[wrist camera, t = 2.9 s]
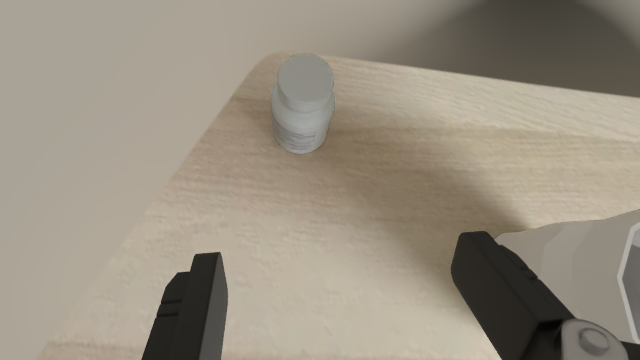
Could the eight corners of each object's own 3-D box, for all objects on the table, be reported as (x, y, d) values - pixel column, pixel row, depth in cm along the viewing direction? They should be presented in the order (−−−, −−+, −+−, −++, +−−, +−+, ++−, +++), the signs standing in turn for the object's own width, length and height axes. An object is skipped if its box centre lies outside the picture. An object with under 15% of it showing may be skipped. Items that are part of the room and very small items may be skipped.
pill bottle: (300, 95, 28) (305, 33, 21) (337, 130, 28) (356, 79, 21) (261, 128, 27) (253, 74, 20) (299, 165, 27) (305, 124, 19)
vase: (561, 229, 28) (759, 199, 16) (588, 345, 25) (841, 406, 14) (460, 233, 27) (594, 204, 15) (479, 354, 24) (653, 428, 13)
